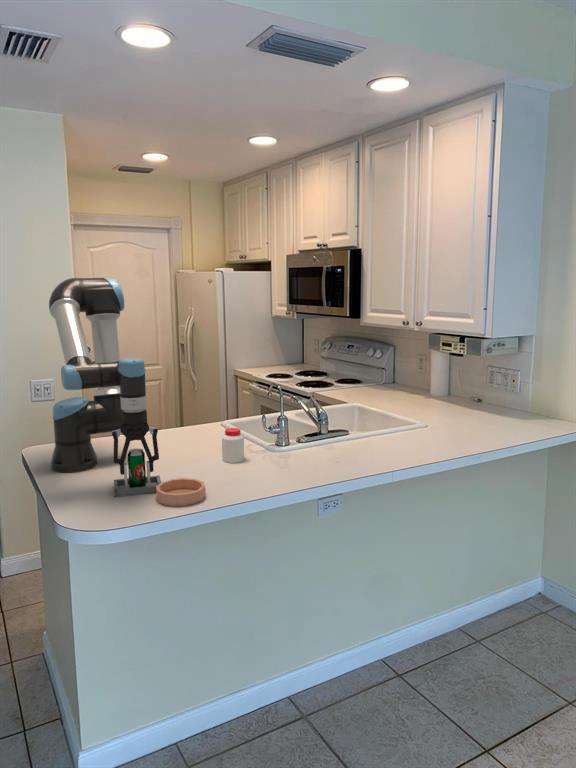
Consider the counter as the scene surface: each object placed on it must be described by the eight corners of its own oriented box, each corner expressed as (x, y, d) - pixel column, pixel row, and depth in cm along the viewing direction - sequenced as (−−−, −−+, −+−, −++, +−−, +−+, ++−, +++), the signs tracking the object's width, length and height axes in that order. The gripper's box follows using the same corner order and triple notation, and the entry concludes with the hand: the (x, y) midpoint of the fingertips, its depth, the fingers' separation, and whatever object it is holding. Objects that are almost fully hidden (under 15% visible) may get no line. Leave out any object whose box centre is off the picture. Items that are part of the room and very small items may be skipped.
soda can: (130, 485, 186) (128, 448, 184) (147, 484, 186) (145, 447, 184) (128, 491, 181) (125, 453, 179) (144, 490, 181) (143, 452, 179)
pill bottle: (247, 457, 215) (247, 428, 213) (238, 463, 208) (238, 433, 206) (227, 455, 217) (227, 426, 216) (218, 461, 210) (218, 431, 208)
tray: (114, 496, 177) (114, 490, 176) (114, 485, 186) (113, 479, 186) (162, 492, 181) (162, 485, 180) (159, 481, 190) (159, 475, 190)
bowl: (158, 508, 168) (158, 497, 167) (155, 491, 181) (154, 481, 180) (208, 503, 172) (208, 491, 171) (201, 487, 185) (201, 476, 184)
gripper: (100, 414, 173) (105, 490, 177) (167, 410, 178) (170, 484, 182) (100, 409, 180) (105, 482, 184) (165, 405, 185) (167, 476, 189)
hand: (137, 483), depth 183 cm, fingers open, 6 cm apart
